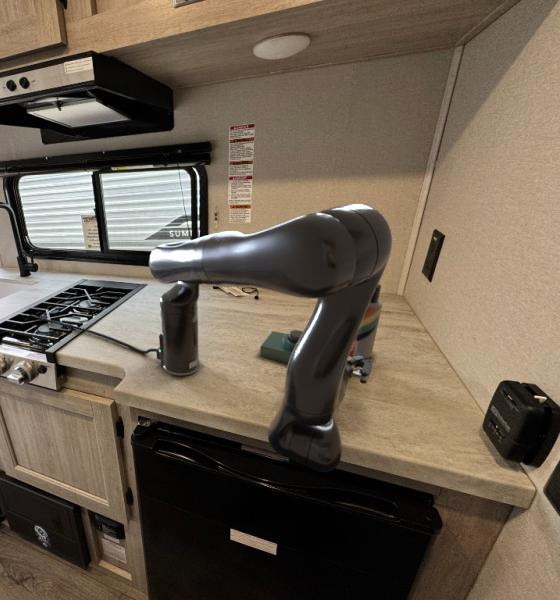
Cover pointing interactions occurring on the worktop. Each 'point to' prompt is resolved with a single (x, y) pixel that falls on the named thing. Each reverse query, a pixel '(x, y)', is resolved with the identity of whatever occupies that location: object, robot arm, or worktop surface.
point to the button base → (277, 347)
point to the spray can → (369, 325)
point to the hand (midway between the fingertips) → (337, 347)
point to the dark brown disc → (295, 335)
